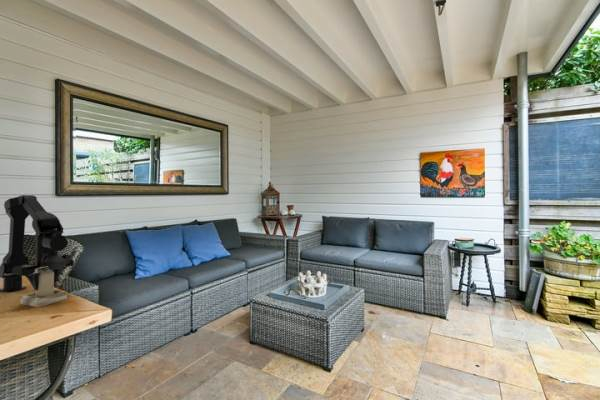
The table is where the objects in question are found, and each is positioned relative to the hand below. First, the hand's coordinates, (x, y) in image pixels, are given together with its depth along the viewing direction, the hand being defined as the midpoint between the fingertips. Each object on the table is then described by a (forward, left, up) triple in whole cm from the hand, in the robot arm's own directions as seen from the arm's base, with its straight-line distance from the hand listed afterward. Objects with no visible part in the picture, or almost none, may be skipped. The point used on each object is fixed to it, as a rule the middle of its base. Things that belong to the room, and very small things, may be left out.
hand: (44, 288), depth 118 cm
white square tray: (0, 0, -5) cm, 5 cm away
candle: (0, 0, -3) cm, 3 cm away
